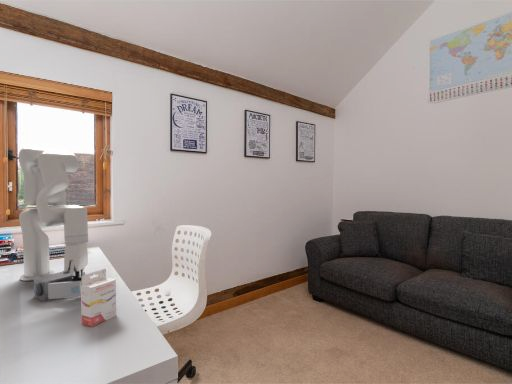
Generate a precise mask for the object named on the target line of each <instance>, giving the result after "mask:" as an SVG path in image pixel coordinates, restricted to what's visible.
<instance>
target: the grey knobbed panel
mask: <svg viewBox="0 0 512 384" xmlns="http://www.w3.org/2000/svg"><path fill="white" fill-rule="evenodd" d="M85 274H86V272H85V271H84V275H85ZM71 281H72V276H70V271H69V272H65V271H64V270H63V271H59V272H54V274H50V275H46V276H42V277H38V278H34V280H33V296H34V298H36V299H38V300H40V301H42V302H45V303H46V302H49V301H52V300H53V299H49V300H45V283H46V282H49V283H58V282H71ZM56 299H57V298H55V300H56Z"/></svg>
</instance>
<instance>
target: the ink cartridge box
mask: <svg viewBox="0 0 512 384" xmlns="http://www.w3.org/2000/svg"><path fill="white" fill-rule="evenodd" d="M94 275H95V277H93V276H94ZM96 275H97V276H96ZM106 276H107V269H106V268H102V269H99V270H96V271H92V272H90V273H85V275H82V280H81V296H80V300H81V301H80V305H81V307H80V308H81V309H80V310H81V312H80V313H81V324H82V325H85V326H88V327H91V328H93V327H95V326H97V325H100V324H101V323H103V322H105V321H107V320H110V319H112V318H114V317H117V282H116V281H117V280H116V279H115V278H110V277H106Z"/></svg>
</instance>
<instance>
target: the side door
mask: <svg viewBox="0 0 512 384" xmlns="http://www.w3.org/2000/svg"><path fill="white" fill-rule="evenodd" d="M77 297H81V281H71V282H58V283H49V282H46V283H45V300H49V299H52V300H54V299H55V298H56V299H65V298H77ZM56 299H55V300H56ZM49 301H50V300H49Z"/></svg>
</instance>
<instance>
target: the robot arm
mask: <svg viewBox="0 0 512 384" xmlns="http://www.w3.org/2000/svg"><path fill="white" fill-rule="evenodd" d="M18 163H19V165H20V168H21V171H22V173H23V201H24V203H25V204H26V205H27V206H33V207H32V208H27V209H24V210H22V211H21V212H20V213H19V214H18V215H19V216H18V219H19V220H18V221H19V225H20V229H21V236H22V252H23V253H22V254H23V274H21V275H20V276H19V280H20V281H26V282H27V281H34V278H38V277H42V276H46V275H50V274H54V273H55V271H54V270H51V267H50V266H51V265H50V263H51V262H50V243H49V240H50V238H49V236H48V234H47V233H45V231H44V230H42V229H47V228H48V229H49V228H56V227H61V226H63V233H64V235H63V236H64V259H63V263H64V265H63V267H64V268H63V271H65V272H69V271H70V276H72V281H81V280H82V275H84V272H85V271H84V270H85V268H86V267H87V266H88V263H89V254H88V253H89V251H88V245H87V244H88V243H89V226H88V225H89V223H88V208H87V207H86V206H83V205H77V204H67V193H66V189H68V187H69V186H70V183H71V182H70V179H69V176H68V174H67V173H76V172H77V171H78V170H79V168H80V162H79V159H78V156H76V154H75V153H74V152H70V151H68V150H65V149H62V148H61V149H60V148H48V147H47V148H46V147H35V146H34V147H31V146H30V147H29V146H28V147H23V148H21V149H20V150H19V152H18ZM34 206H36V207H34Z"/></svg>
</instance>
